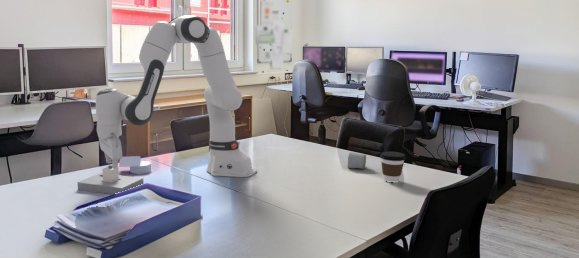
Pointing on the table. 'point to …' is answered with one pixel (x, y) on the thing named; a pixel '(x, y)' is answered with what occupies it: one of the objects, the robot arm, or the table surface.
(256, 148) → the table surface
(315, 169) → the table surface
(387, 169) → the coffee cup
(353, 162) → the grey rounded block
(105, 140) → the robot arm
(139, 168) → the wedge on round base
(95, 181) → the socket plate
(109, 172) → the plug
